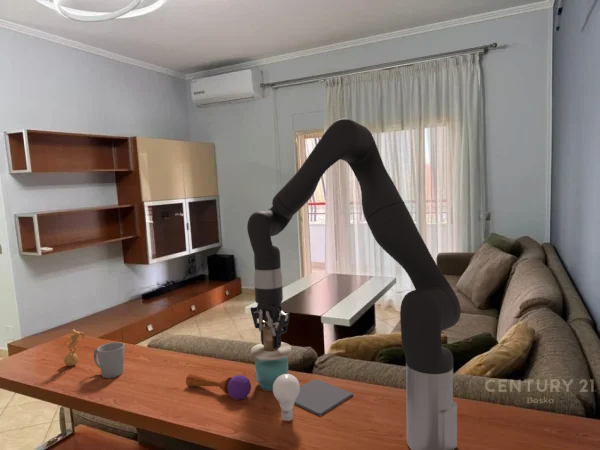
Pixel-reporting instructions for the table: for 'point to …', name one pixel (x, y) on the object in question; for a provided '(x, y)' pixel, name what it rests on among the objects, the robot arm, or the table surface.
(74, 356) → the figurine
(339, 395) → the mat
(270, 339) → the lid
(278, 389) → the lightbulb
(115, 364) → the cup
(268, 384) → the teal rounded dome
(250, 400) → the table surface
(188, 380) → the kendama
